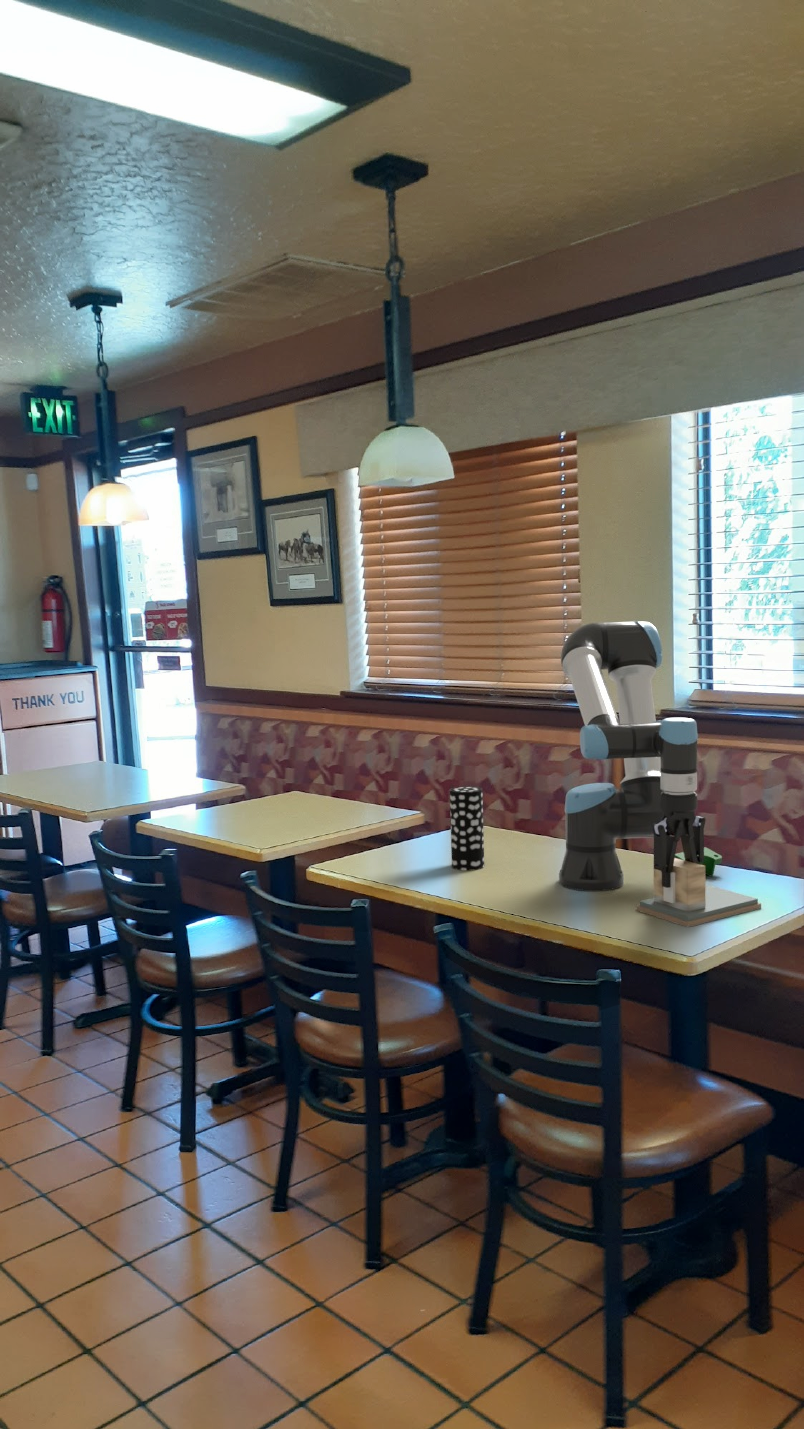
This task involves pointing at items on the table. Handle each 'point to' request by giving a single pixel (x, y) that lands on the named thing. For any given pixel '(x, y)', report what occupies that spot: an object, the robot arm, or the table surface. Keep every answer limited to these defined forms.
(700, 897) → the wooden block
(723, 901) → the slate board
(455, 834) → the white-spotted black cylinder
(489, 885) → the table surface
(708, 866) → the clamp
